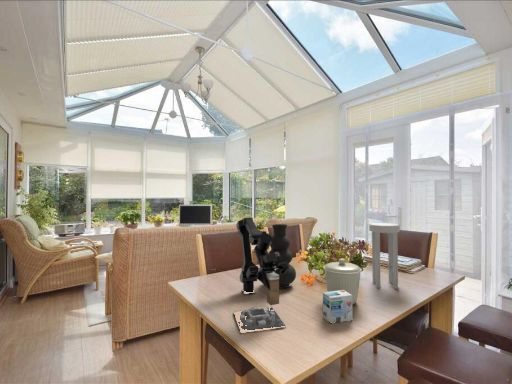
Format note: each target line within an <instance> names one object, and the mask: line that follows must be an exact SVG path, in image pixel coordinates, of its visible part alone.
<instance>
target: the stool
mask: <svg viewBox="0 0 512 384" xmlns="http://www.w3.org/2000/svg"><path fill="white" fill-rule="evenodd" d="M368 230H369V231H370V232H371V254H372V255H371V258H372V259H371V261H372V264H371V266H372V268H371V271H372V274H371V275H372V279H371V280H372V282H373V283H374V284H375V288H379V289H380V288H381V283H382V282H381V233H382V234H387V237H388V238H387V241H388V242H387V244H388V245H387V247H388V248H387V249H388V251H387V252H388V253H387V255H388V261H387V263H388V283H389V284H392V289H397V290H398V289H399V255H398V254H399V253H398V252H399V251H398V249H399V247H398V244H399V243H398V240H399V239H398V233H400V231H401V230H400V224H398V223H391V222H390V223H389V222H372V223H369V224H368Z"/></svg>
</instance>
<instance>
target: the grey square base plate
mask: <svg viewBox="0 0 512 384" xmlns="http://www.w3.org/2000/svg"><path fill="white" fill-rule="evenodd" d="M273 309H274V308H273V307H272V306H271V308H270V311H269V307H264V306H263V307H256V306H255V307H250V308H246V309H244V311H242V310H241V311H242V312H241V315H240V320H241V322H242V323H243V326H241V328H242V329H244V330H245V329H247V330H255V329H263V328H271V327H272V328H273V327H281V326H285V327H286V324H285V323H284V321H283V320H282V319H281V317H280V316H279V315H278V313H277V312H276V310H275V309H274V311H271V310H273ZM245 316H247V317H246V320H245ZM238 323H239V324H240V322H238ZM245 325H247V326H245ZM239 326H240V325H239Z"/></svg>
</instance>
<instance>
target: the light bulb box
mask: <svg viewBox="0 0 512 384" xmlns="http://www.w3.org/2000/svg"><path fill="white" fill-rule="evenodd" d="M322 318H323V319H325V320H326V319H327V320H328V321H329V322H330V323H332V324H335V323H334V322H340V323H343V322H342V321H347V322H351V321H350V320H352V321H353V305H352V295H351V294H349V293H348V292H346V291H345V290H339V291H330V292H327V291H323V292H322ZM327 320H326V321H327ZM328 321H327V322H328ZM329 322H328V323H329ZM330 323H329V324H330Z"/></svg>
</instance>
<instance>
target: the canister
mask: <svg viewBox="0 0 512 384" xmlns="http://www.w3.org/2000/svg"><path fill="white" fill-rule="evenodd" d="M346 261H347V260H346V259H345V258H338V261H332V262H327V263H326V264H325V265H323V266H322V269H324V275H325V285H326V292H330V291H339V290H345V291H346V292H348V293H349V294H351V295H352V306H353V305H355V303H357V301H358V299H359V298H358V297H359V288H360V281H361V273H362V271H363V269H362V268H361V267H360V266H358V265H357V264H354V263H351V262H346Z"/></svg>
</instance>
